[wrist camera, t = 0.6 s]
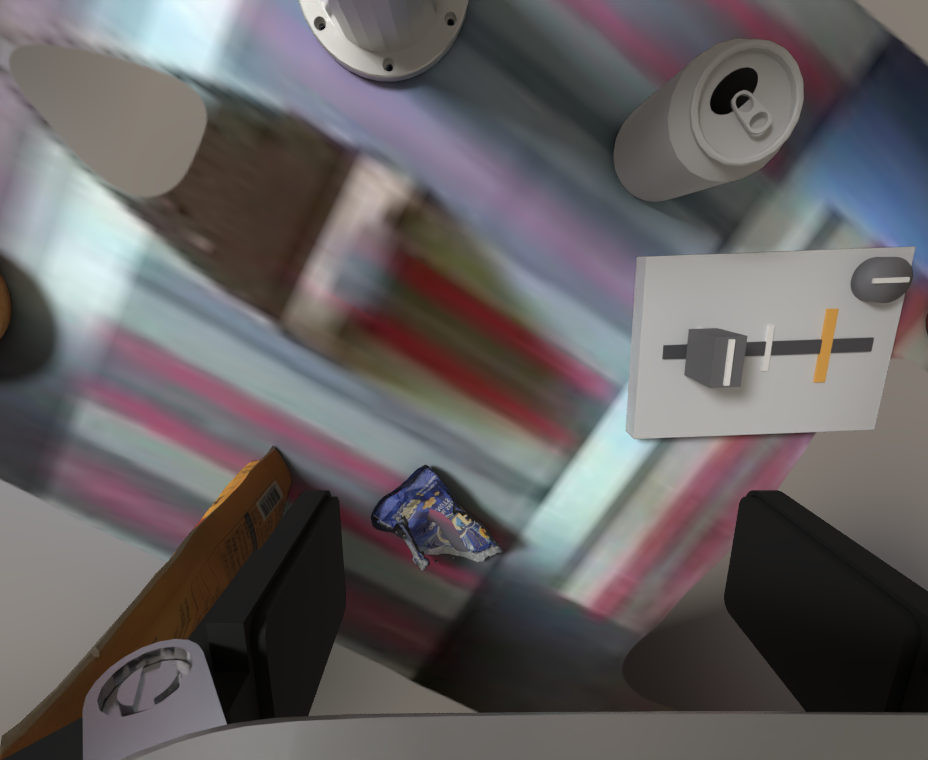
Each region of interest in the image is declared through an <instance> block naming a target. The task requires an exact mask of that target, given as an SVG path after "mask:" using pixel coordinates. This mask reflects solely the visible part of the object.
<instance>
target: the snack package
mask: <svg viewBox="0 0 928 760" xmlns="http://www.w3.org/2000/svg"><path fill="white" fill-rule="evenodd" d="M398 489H401V490H400V491H399V493H397V494H394V495H392V496H391V494H393V493H396V492H397V491H398ZM387 495H389V497H388V496H387ZM387 495H386V496H384V497H383V498H382V499H381V500H380V501H379V502H378V504H377V505H376V506H375V508H374V510H373V512H372V515H371V520H372V525H373V526H374V527H375V528H376V529H378V530H382V531H386V532H392V533H395V534H396V535H397V536H399V537H401V538H403V539H404V541H405V542H406V544H407V545H408V547H409V548H410V550H411V552H412V555H413V559H412V561H414V563H415V564H417V565H418V566H419V568H420V569H421V571H423V570H425V568H426V567H427V566H428V565H429V564H430V562H429V559H428V558H425V557H424V554H425V555H426V554H429V555H431V554H432V555H434V554H435V555H439V554H444V553H445V554H451V555H456V556H463V557H466V558H468V559H470V560H473V561H477V562H479V561H480V562H483V561H484V560H485V558H487V557H488V556H490V557H491V556H493V555H494V554H496V553H497V552H498V553H501V552H503V551H502V549H501V548H500V546H499V545H498V543H497V542H496V541H495V539H494V538H493V536H492V535H491V533H490V532H489V531H488V529H487V528H486V527H485V526H484V525H483V524H482V523H481V522H479V521H478V520H477V519H476V518H474V517H473V516H472V515H471V514H469V513H467V512H466V511H465V510H464V509H463V508H462V507H461V506H460V505H458V502H457V500H456V498H455V497H454V495H453V494H452V492H451V491H450V490H449V489H448V488H447V486H446V485H444V484H443V482H442V481H441V480H440V478H439V477H438V476H437V475H436V474H435V473H434V471H433V470H432V469H431V468H430V467H429V466H427V465H424V466H422V467H420V468H419V469H417V470H416V471H415V472H414V473H413V474H412V475H411V476H410V477H409V478H408V479H407V480H406V481H405V482H404V483H402V485H401V486H399V487H398V488H396V489H395V490H394V491H392V492H391V493H389V494H387ZM429 508H430V509H434V510H435V511H438V512H441V513H443V514H444V515H445V517H447V518H448V519H450V521H451V522H452V523H453V524H454V526H455V528H456V529H457V531H458V532H459V535H460V538H461V540H462V541H463V542H464V544H465V546H466V547H467V548H468V550H469V551H468V552H459V551H457V550H455V549H454V547H453V546H452V545H451V544H450V543H449V541H448V540H447V539H446V538H445V536H444V535H443V534H442V533H441V531H440V528H439V525H438V524H437V523H434V522H429V521H427V516H428V513H429ZM474 552H480V553H479V554H475V553H474ZM452 558H453V559H454V557H452ZM435 563H437V560H435Z"/></svg>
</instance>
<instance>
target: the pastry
mask: <svg viewBox="0 0 928 760" xmlns="http://www.w3.org/2000/svg"><path fill="white" fill-rule="evenodd" d="M11 314H12V303H11V297H10V293H9V290H8V287H7V285H6V283H5V281H4V279H3V277H2V275H1V273H0V339H1V338H2V336H3V335H4V333H5V332H6V330H7V328H8V326H9V323H10V320H11Z"/></svg>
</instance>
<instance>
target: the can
mask: <svg viewBox="0 0 928 760" xmlns="http://www.w3.org/2000/svg"><path fill="white" fill-rule="evenodd" d="M803 102H804V86H803V78H802V75H801V72H800V69H799V66H798V63H797V62H796V61H795V60H794V58H793V57H792V56H791V55H790V53H789V52H788V51H787V50H786V49H785V48H783V47H781V46H779V45H778V44H776V43H774V42H772V41H768V40H759V39H750V40H748V39H740V38H737V39H733V40H729V41H725V42H721V43H717V44H716V45H714V46H713V47H711V48H709V49H708V50H706V51H705V52H703V53H702V54H700V55H698V56H697V57H696V58H695V59H694V60H692V61H691V62H690V63H689V64H688V65H687V66H685V67H684V68H683V69H682V70H681V71H680V72H678V73H677V74H676V75H675V76H674V77H673V78H671V79H670V80H669V81H668V82H667V83H666V84H664V85H663V86H662V87H661V88H660V89H659V90H657V91H656V92H655V93H654V94H653V95H652V96H650V97H649V98H648V99H647V100H646V101H645V102H643V103H642V104H641V105H640V106H639V107H638V108H636V109H635V110H634V111H633V112H632V114H631V115H630V116H629V117H628V118H627V119H626V120H625V122H624V123H623V125H622V127H621V129H620V131H619V133H618V135H617V137H616V141H615V147H614V154H613V157H614V165H615V171H616V173H617V175H618V178H619V180H620V182H621V184H622V185H623V186H624V187H625V188H626V189H627V190H628V191H629V192H630V194H631V195H633V196H635V197H638V198H640V199H642V200H644V201H652V202H661V201H665V200H669V199H673V198H677V197H680V196H684V195H687V194H690V193H694V192H697V191H701V190H704V189H708V188H711V187H714V186H718V185H721V184H725V183H728V182H732V181H735V180H739V179H742V178H745V177H747V176H749V175H751V174H752V173H754V172H756V171H757V170H759V169H761V168H762V167H764V166H765V165H766V164H767V163H768V162H769V161H770V160H771V159H772V158H773V156H774V155H775V154H776V153H777V152H778V151H779V150H780V148H781V146H782V145H783V144H784V142H785V141H786V140H787V139H788V138H789V137H790V135H791V133H792V131H793V130H794V128H795V126H796V124H797V122H798V121H799V117H800V113H801V109H802V106H803Z"/></svg>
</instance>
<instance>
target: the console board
mask: <svg viewBox="0 0 928 760" xmlns="http://www.w3.org/2000/svg"><path fill="white" fill-rule="evenodd" d="M914 252H915V247H889V248H862V249H835V250H809V251H782V252H755V253H728V254H701V255H674V256H647V257H637V262H636V278H635V293H634V308H633V323H632V339H631V354H630V369H629V385H628V400H627V415H626V430H625V431H626V432H627V433H628V434H629V435H630V436H631V437H632V438H633V439H645V438H671V437H697V436H724V435H750V434H776V433H803V432H829V431H854V430H874V429H875V424H876V420H877V415H878V411H879V407H880V402H881V398H882V394H883V389H884V385H885V380H886V376H887V371H888V367H889V362H890V358H891V354H892V349H893V345H894V340H895V336H896V331H897V327H898V323H899V318H900V314H901V309H902V305H903V300H904V296H905V292H906V291H907V290H908V288H909V286H910V284H911V282H912V277H913V271H912V267H911V265H912V260H913V256H914ZM704 328H719V329H723V330H727V331H731V332H734V333H738V334H742V335H746V336H747V343H746V351H745V358H744V366H743V373H742V380H741V387H725V388H709V387H707V386H705V385H703V384H701V383H699V382H697V381H695V380H693V379H691V378H689V377H687V376H685V375H684V372H685V362H686V352H687V342H688V332H689V329H704Z"/></svg>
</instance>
